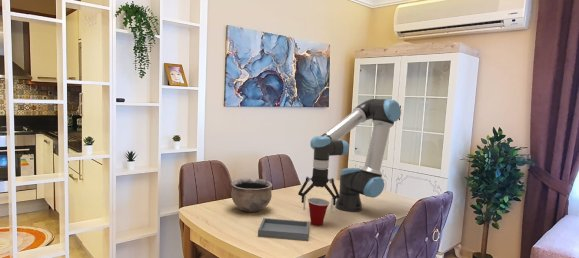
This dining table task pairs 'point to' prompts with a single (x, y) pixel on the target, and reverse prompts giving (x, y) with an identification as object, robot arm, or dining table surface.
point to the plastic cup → (317, 210)
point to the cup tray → (284, 229)
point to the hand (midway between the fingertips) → (317, 210)
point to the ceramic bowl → (251, 194)
